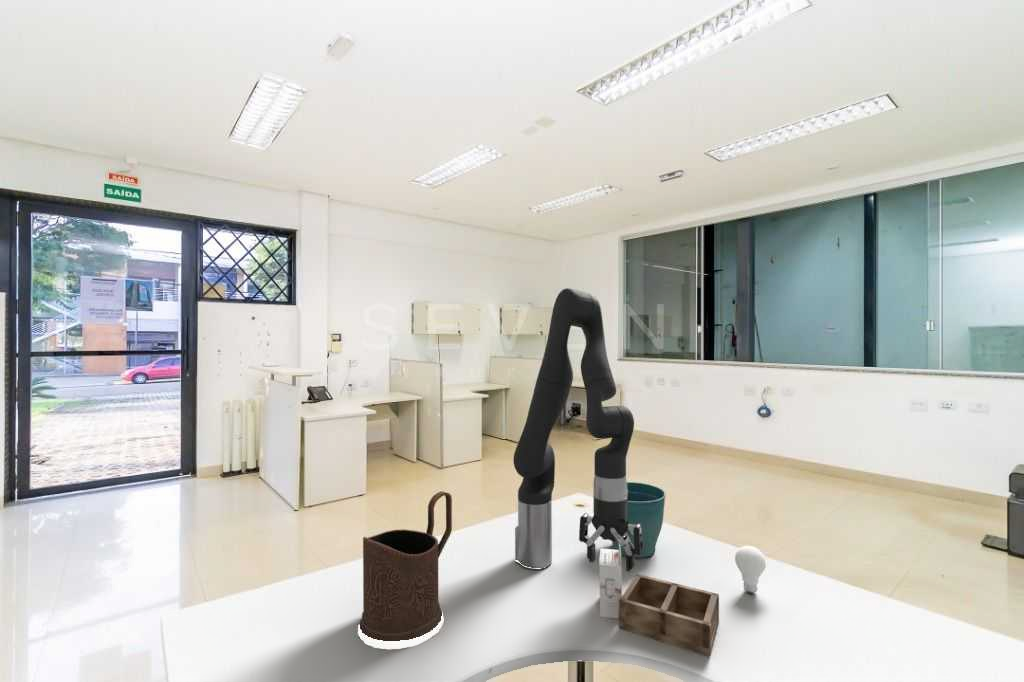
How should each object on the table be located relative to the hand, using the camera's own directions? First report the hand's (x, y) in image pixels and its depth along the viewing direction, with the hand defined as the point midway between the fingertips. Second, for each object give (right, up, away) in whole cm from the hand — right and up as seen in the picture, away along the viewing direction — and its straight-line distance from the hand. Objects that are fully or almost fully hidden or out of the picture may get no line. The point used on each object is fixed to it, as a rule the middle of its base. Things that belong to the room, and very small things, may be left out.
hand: (610, 565), depth 108 cm
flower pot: (+13, -10, +30) cm, 34 cm away
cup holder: (-45, -10, -3) cm, 46 cm away
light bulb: (+35, -10, +6) cm, 37 cm away
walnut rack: (+11, -10, -7) cm, 16 cm away
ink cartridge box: (0, -10, 0) cm, 10 cm away
